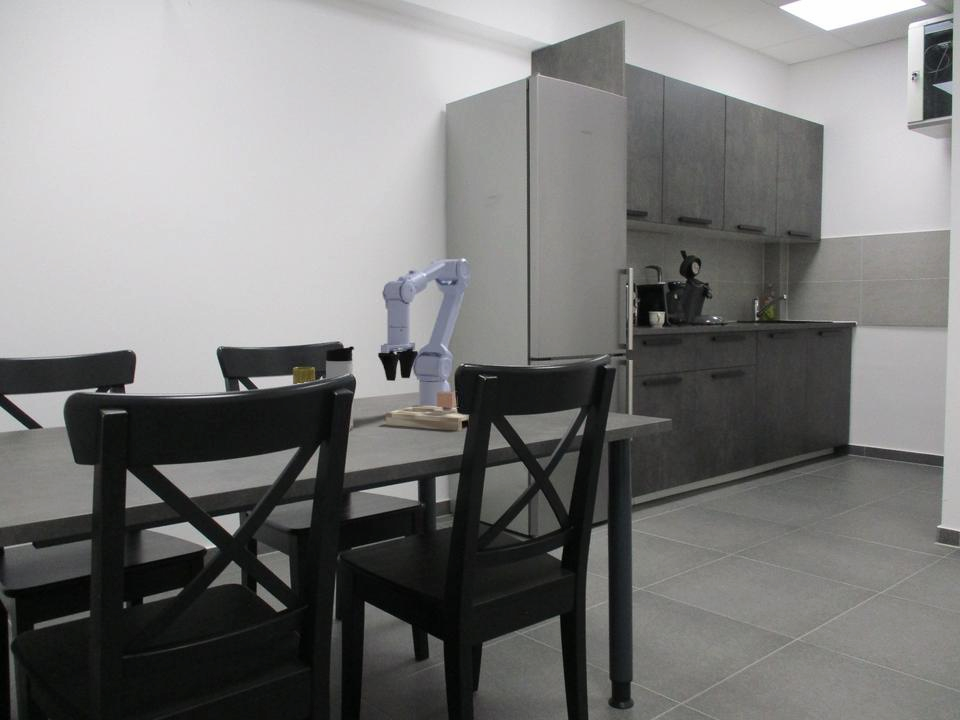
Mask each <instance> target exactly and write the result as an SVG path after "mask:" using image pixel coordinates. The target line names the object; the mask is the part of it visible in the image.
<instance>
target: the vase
mask: <svg viewBox="0 0 960 720" xmlns="http://www.w3.org/2000/svg"><path fill="white" fill-rule="evenodd" d="M315 369H316V368H315V367H313V366H297V367H296V366H295V367H292V374H293V375H292V385H293V384H297V383H304V382H308V381H312V380H315V381H316V372H315V371H316V370H315Z"/></svg>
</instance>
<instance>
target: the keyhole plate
mask: <svg viewBox="0 0 960 720" xmlns="http://www.w3.org/2000/svg"><path fill="white" fill-rule="evenodd" d="M456 408H457V407H453V408H452V413H451V414H450V413H442V407H437V406H423V405H419V404H416V405H411V406H408V407H404V408H401V409H396V410H392V411H391V410H390V411H387V412H386V413H385V426H394V427H395V426H396V427H407V428H409V427H410V428H422V429H433V430H444V431H445V430H447V431H454V432H455V431H461V430H463V429H462V427H463V424H462V422H468V421H467V420H468V417H469V416H468V415H462V414H458V413H457V409H456Z"/></svg>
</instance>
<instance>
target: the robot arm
mask: <svg viewBox="0 0 960 720" xmlns="http://www.w3.org/2000/svg"><path fill="white" fill-rule="evenodd" d="M471 275H472V272H471V267H470V264H469V261H468V260H467V259H466V258H456V259H455V258H452V259H451V258H450V259H449V258H448V259H445V258H444V259H441V258H437V259H435V260H432V261H431V263H430V264H429V265H428V266H427V267H425V268H424V269H422V270H421V271H420V270H417V269H410V270H409V271H408V273H407V274H405V275H401V276H399V277H398V279H397V280H389V281H387V283H386V284H384V287H383V290H382V292H381V293H382V299H383V300H384V303H385V304H384V305H385V309H386V310H387V316H386V317H387V320H386V321H387V323H386V325H387V330H386V332H387V333H386V334H387V338H386V339H387V341H386V342H387V343H383V344H382V345H381V344H380V352H378V353H377V357H378V358H379V360H380V362H381V364H382V368H383V370H384V375H385V378H386V381H390V382H391V381H393V382H396V378H397V367H398V363H399V369H400V377H401V378H402V379H410V377H411V374H412V371H413V375H414V376H415V377H416V380H418V405H423V406H437V393H439V392H441V391H448V392H451V386H450V383H449V382H448V381H447V380H448V378H450V375H451V373H452V369H453V366H452V363H453V359H454V356H453V354H452V353H451V351H450V350H449V349H448V347H449V344H450V340H451V338H452V335H453V330H454V327H455V325H456V322H457V318H458V315H459V311H460V310H461V305H462V302H463V299H464V295H465V292H466V291H467V289H468V285H469V283H470V279H471ZM432 281H435V283H436V286H437V288H438V291H440V292H441V293H443V297H442V301H441V304H440V308H439V310H438V313H437V317H436V321H435V323H434V325H433V329H432V332H431V336H430V339H429V341H428V344H426V345H424V346H423V347H421V348H420V349H419V351H418V350H416V342H410V328H411V327H410V321H411V320H410V318H411V317H410V313H411V312H410V303H412V302H413V300H414V298H415V295H417V294H419V293H421V292H422V291H424V290H425V289H426V288H427V286H428V283H430V282H432Z"/></svg>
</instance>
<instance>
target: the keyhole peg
mask: <svg viewBox="0 0 960 720" xmlns="http://www.w3.org/2000/svg"><path fill="white" fill-rule="evenodd" d="M455 392H456V391H450V392H448V391H441V392H439V393H437V407H442V413H450V414H451V413H452V408H456V407H457V406H456V398H455Z"/></svg>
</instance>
